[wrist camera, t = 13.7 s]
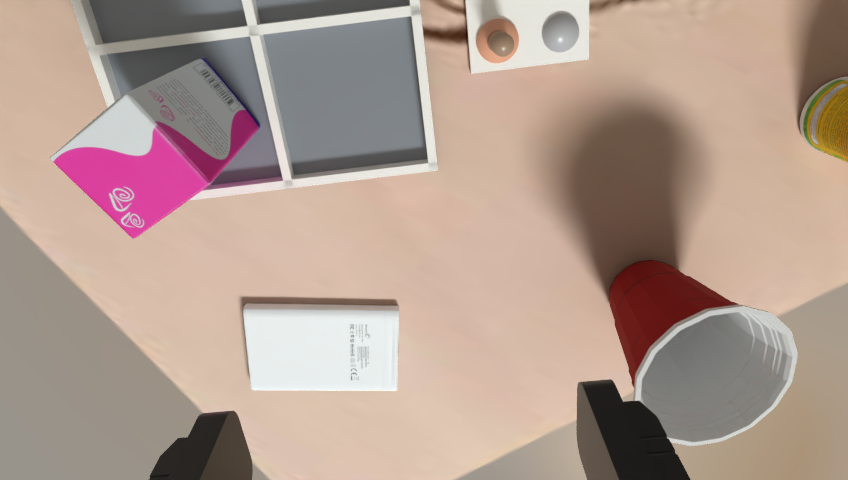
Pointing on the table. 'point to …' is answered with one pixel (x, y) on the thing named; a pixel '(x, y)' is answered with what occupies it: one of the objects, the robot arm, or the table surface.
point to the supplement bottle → (827, 119)
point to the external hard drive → (322, 347)
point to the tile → (526, 33)
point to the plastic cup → (699, 354)
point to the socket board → (285, 80)
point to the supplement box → (158, 145)
